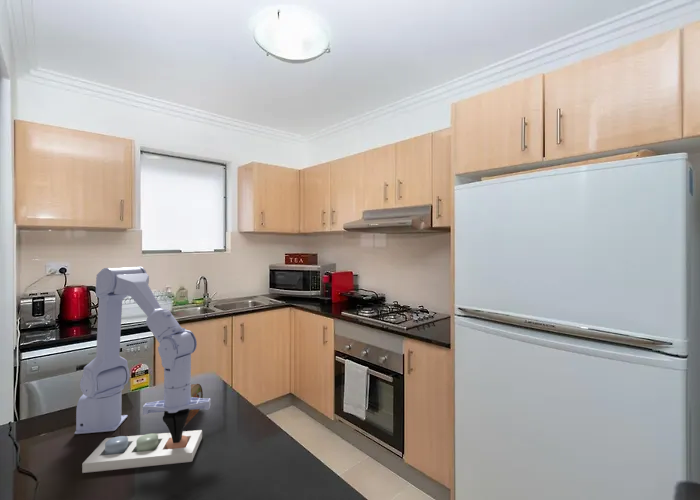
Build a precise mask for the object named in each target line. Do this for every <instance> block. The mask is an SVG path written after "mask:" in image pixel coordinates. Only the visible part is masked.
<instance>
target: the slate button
mask: <svg viewBox="0 0 700 500" xmlns="http://www.w3.org/2000/svg"><path fill="white" fill-rule="evenodd" d="M126 436H127V435H126ZM126 436H125V435H119V436H115V437H111V438H112V439H110V440H108V441H107V442H106V443H105V455H112V454H122V453H124V452H125V451H126V450H127V448H128V437H126Z"/></svg>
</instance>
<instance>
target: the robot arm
mask: <svg viewBox="0 0 700 500" xmlns="http://www.w3.org/2000/svg"><path fill="white" fill-rule="evenodd" d="M149 284H150V275H149V274H148V272H147V271H146V269H145V268H144V267H143V266H140V265H138V266H129V267H128V266H127V267H112V268H111V267H104V268H102V269H101V270H100V271H99V272H98V273H97V274H96V281H95V298H98V309H97V310H98V311H97V312H98V313H97V329H96V330H97V332H96V354H95V357H94V358H93V359H91V361H90V362H88V363H87V364H86V365H85V366H84V367H83V372H82V376H81V378H80V382H79V387H80V390H81V392H82V395H81V396H80V397H79V399H78V401H77V404H76V409H75V410H76V411H75V412H76V414H75V415H76V416H75V417H76V418H75V420H76V421H75V422H76V426H75V432H74V435H80V434H91V433H93V434H94V433H104V432H114V431H116V430H117V429H118V428H119V427H120V426H121V425H122V424H123V422H124V421H125V420H126V419H127V418H128V417H129V416H128V414H123V415H122V405H123V404H122V397H123V396H122V395H123V394H122V390H124V389H125V385H127V384H128V383H129V380H130V369H129V365H128V360H127V359H126V358H124V357H122V356H121V355H120V352H121V351H120V350H121V333H122V330H121V329H122V328H121V327H122V314H123V313H122V312H123V311H122V310H123V300H124V299H126V298H127V297H131V299H132V300H133V301H134V302H135V303H136V304H137V306H138V307H139V308H140V309H141V310H142V311H143V313H144V314H145V316H146V320H145V325H146V326H147V328H148V329H149V331H151V333H152V334H153V337H154V338H155V339H156V341H157V342H158V344H159V345H158V347H157V351H158V354H159V357H160V359H161V365H162V366H161V367H162V368H163V372H164V373H163V378H164V379H163V400H156V401H150V402H145V403H144V404H143V406H142V415H143V416H144V415H149V414H152V413H163V416H162V421H163V422H164V424H165V425H166V427H167V428H168V430H169V433H171V436H172V440H173V443H179V442H180V440H181V438H182V433H183V431H184V429H185V426H184V425H185V422H186V419H187V417H188V415H189V412H190V410H193V409H200V410H203V409H204V410H205V411H206V410H207V411H208V410H210V407H211V406H212V405H211V402H212V401H211V398H210V397H209V398H208V397H207V398H204V397H203V398H193V397H191V384H192V354H193V353H194V352H195V351H196V350H197V345H198V343H197V341H198V340H197V338H196V336H195V334H194V332H192V331H191V330H190V329H189V330H188V329H186V327H182V326H181V325H180V323H179V322H178V321H177V319H176V318H175V316H174V315H173V314H172V312H171V311H170V310H169V309H167V308H162V306H161V305H160V303H159V301H158V299H157V297H156V296H155V294H154V293H153V290H152V289H151V287H150V285H149Z"/></svg>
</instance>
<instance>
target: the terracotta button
mask: <svg viewBox="0 0 700 500" xmlns="http://www.w3.org/2000/svg"><path fill="white" fill-rule="evenodd" d="M187 440H188V438H187V437H186V436H184V435H182V438H181V440H180V442H179V443H173V440H172V438H170V439H169V440H168V441H167V449H174V448H185V447H186V446H187Z"/></svg>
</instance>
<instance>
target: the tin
mask: <svg viewBox="0 0 700 500" xmlns="http://www.w3.org/2000/svg"><path fill="white" fill-rule="evenodd" d="M203 395H204V393H203V387H202V385H201V384H200V383H196V384H194V383H193V384H192V383H191V397H193V398H204V396H203ZM200 410H201V409H193V410H190V412H189V415H188V417H187V419H186V422H185V425H184V427H186V426H187V425H188V424H189V422H190V421H191V420H193V418H194V417H196V415H197V414H198V413H199V411H200Z"/></svg>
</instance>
